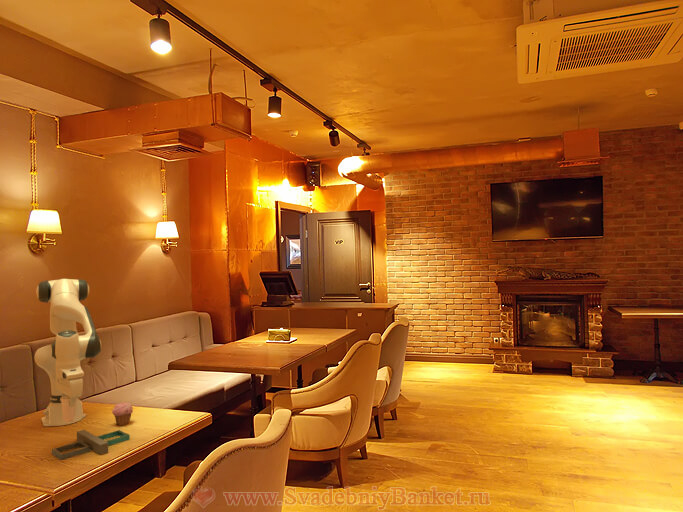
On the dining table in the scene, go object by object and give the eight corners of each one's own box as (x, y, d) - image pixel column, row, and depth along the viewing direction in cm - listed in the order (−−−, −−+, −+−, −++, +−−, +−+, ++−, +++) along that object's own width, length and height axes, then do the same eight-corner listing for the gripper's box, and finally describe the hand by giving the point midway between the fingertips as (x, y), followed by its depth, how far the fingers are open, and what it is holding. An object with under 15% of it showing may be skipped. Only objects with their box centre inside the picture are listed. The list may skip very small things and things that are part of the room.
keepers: (51, 453, 195) (51, 449, 195) (119, 434, 215) (119, 430, 215) (60, 460, 188) (60, 455, 188) (129, 439, 208) (129, 434, 208)
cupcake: (109, 425, 229) (108, 404, 229) (126, 419, 236) (125, 399, 236) (120, 428, 224) (119, 406, 224) (137, 422, 231) (136, 401, 231)
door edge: (76, 440, 209) (76, 431, 209) (84, 438, 211) (83, 429, 211) (100, 455, 192) (100, 444, 192) (108, 452, 194) (107, 442, 194)
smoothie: (69, 423, 192) (69, 388, 192) (55, 422, 193) (56, 387, 194) (81, 419, 198) (82, 384, 199) (68, 418, 200) (69, 384, 200)
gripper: (51, 369, 201) (52, 402, 201) (68, 376, 187) (69, 411, 187) (67, 366, 205) (68, 398, 205) (85, 373, 192) (86, 407, 192)
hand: (69, 405), depth 196 cm, fingers closed on smoothie, 6 cm apart
